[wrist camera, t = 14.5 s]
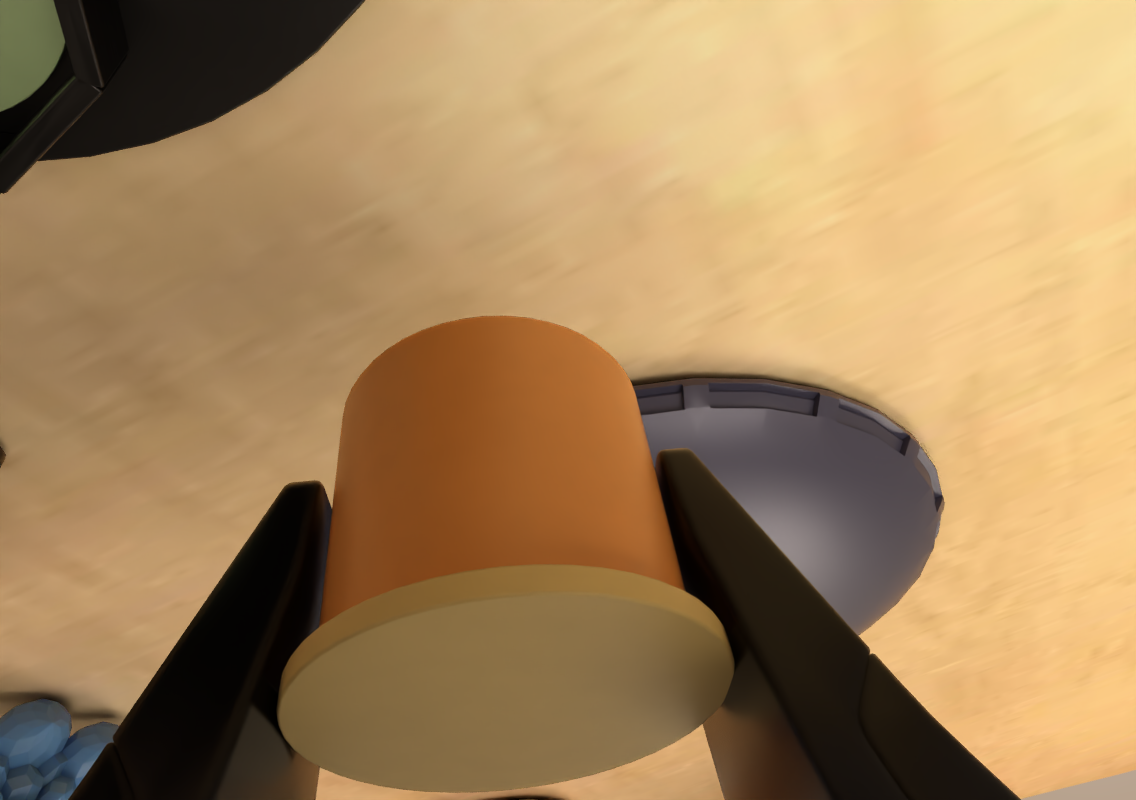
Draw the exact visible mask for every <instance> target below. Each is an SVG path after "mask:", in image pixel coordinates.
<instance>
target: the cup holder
mask: <svg viewBox="0 0 1136 800" xmlns="http://www.w3.org/2000/svg"><path fill="white" fill-rule="evenodd" d="M364 2H365V0H0V194H1V193H3V194H4V193H7V192H8V191H9V190H10V189H11V188H12V187H13V186H14V185H15V184H16V182H17V181H18V180H19V179H20V178H21V177H22V176H23V175H24V174H25V173H26V172H27V171H28V170H29V169H30V168H31V167H32V166H33V165H34V164H35V163H36V162H37V161H45V160H57V159H68V158H80V157H91V156H96V155H100V154H105V153H109V152H114V151H119V150H123V149H128V148H132V147H137V146H142V145H146V144H151V143H155V142H158V141H160V140H163V139H166V138H169V137H171V136H174V135H177V134H179V133H182V132H185V131H187V130H190V129H193V128H196V127H198V126H201V125H204V124H206V123H209V122H212V121H214V120H216V119H218V118H219V117H221V116H223V115H225V114H227V113H228V112H230V111H232V110H234V109H236V108H237V107H239V106H241V105H243V104H245V103H246V102H248V101H250V100H252V99H254V98H255V97H257V96H259V95H261V94H263V93H265V92H266V91H268V90H269V89H270V88H272V87H273V86H274V85H276V84H277V83H278V82H279V81H281V80H282V79H283V78H285V77H286V76H287V75H288V74H290V73H291V72H292V71H294V70H295V69H296V68H297V67H299V66H300V65H301V64H303V63H304V62H305V61H306V60H308V59H309V58H310V57H312V56H313V55H314V54H315V53H317V52H318V51H319V50H320V49H321V48H322V47H323V46H324V44H325V43H326V42H327V41H328V40H329V39H330V38H331V37H332V36H333V35H334V34H335V33H336V32H337V31H338V29H339V28H340V27H341V26H342V25H343V24H344V23H345V22H346V21H347V20H348V19H349V18H350V17H351V16H352V15H353V13H354V12H355V11H356V10H357V9H358V8H359V7H360V6H361V5H362V4H363V3H364Z"/></svg>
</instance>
